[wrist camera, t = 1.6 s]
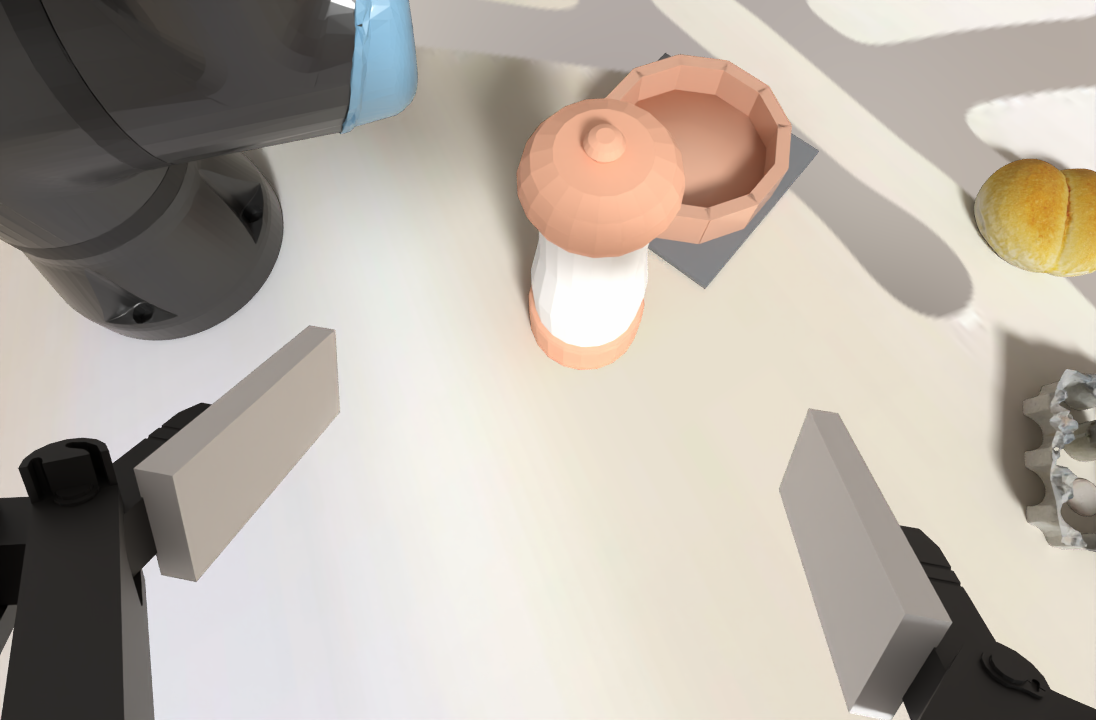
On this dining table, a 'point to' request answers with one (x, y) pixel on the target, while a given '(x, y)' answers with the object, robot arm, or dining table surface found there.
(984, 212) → the bread roll
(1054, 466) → the egg carton
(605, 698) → the dining table surface
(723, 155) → the dish
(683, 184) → the pepper shaker
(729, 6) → the dining table surface
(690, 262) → the mat
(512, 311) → the dining table surface
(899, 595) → the robot arm
